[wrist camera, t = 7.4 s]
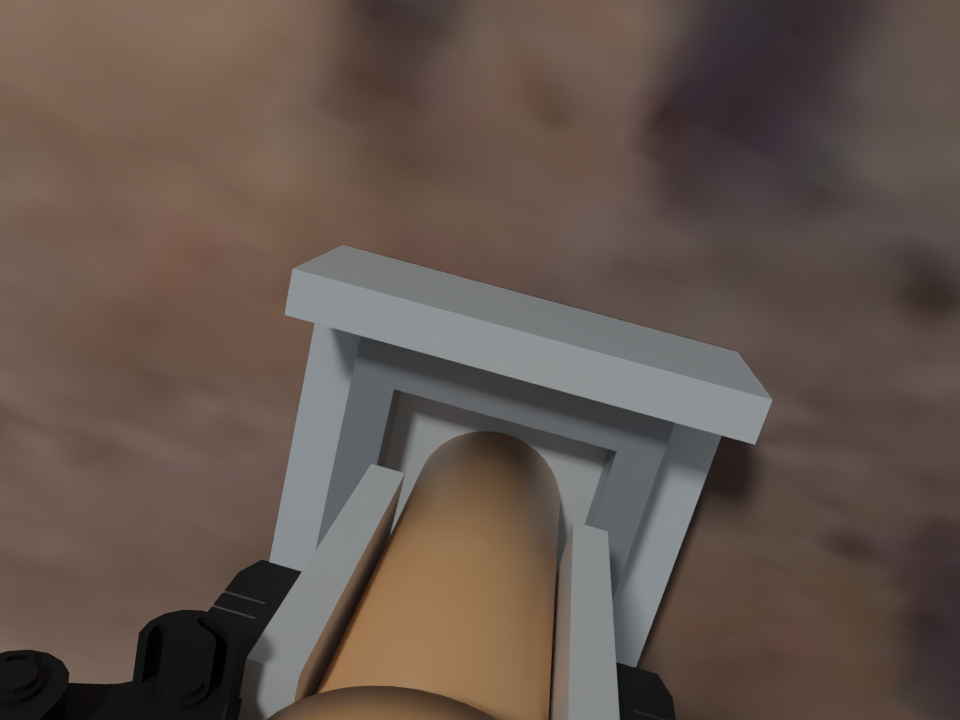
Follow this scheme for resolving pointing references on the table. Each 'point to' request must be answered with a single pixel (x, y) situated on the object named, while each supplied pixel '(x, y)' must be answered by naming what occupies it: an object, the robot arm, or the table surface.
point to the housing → (509, 409)
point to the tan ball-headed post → (455, 597)
